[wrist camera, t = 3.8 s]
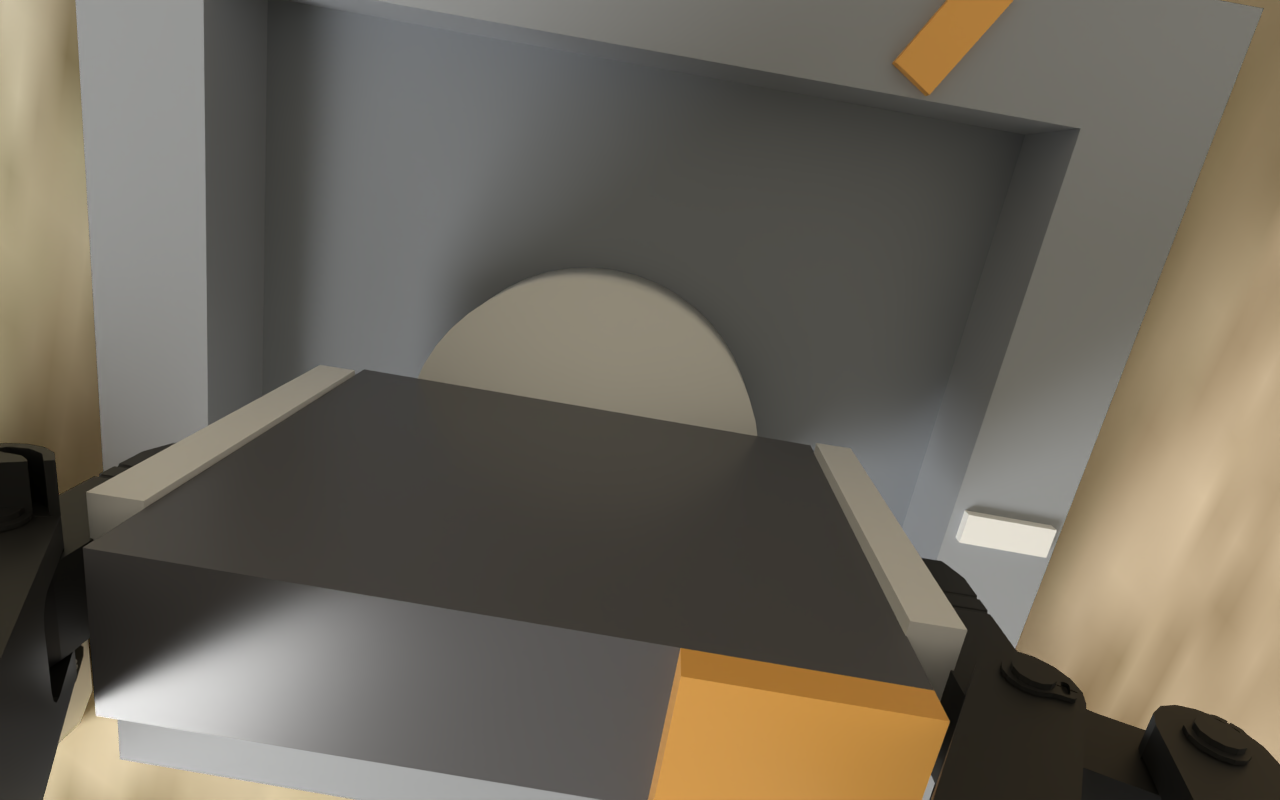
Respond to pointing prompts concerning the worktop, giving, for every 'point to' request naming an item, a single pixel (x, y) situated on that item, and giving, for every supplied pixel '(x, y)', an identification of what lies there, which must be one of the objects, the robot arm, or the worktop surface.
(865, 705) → the dial
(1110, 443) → the worktop surface
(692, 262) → the dial panel
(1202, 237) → the worktop surface
